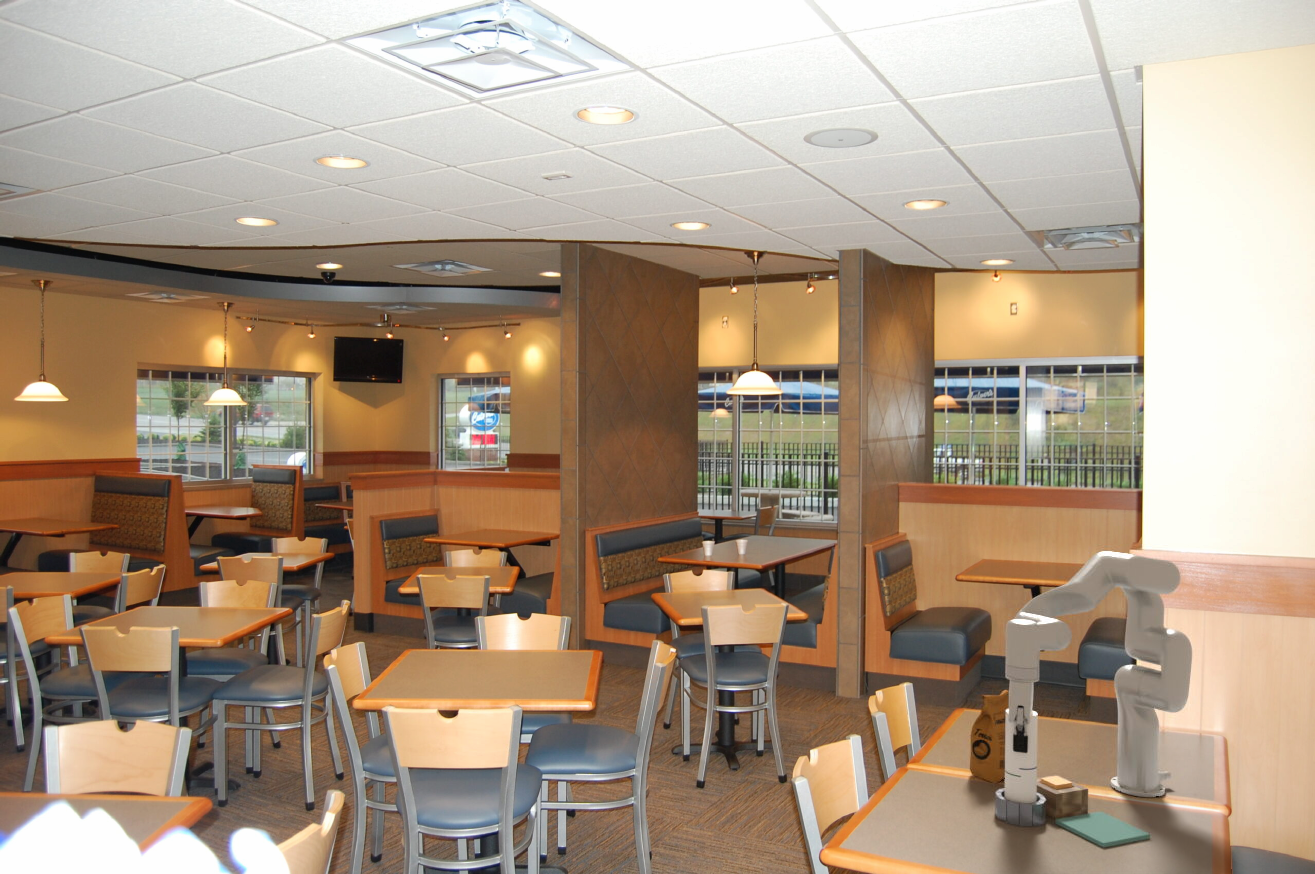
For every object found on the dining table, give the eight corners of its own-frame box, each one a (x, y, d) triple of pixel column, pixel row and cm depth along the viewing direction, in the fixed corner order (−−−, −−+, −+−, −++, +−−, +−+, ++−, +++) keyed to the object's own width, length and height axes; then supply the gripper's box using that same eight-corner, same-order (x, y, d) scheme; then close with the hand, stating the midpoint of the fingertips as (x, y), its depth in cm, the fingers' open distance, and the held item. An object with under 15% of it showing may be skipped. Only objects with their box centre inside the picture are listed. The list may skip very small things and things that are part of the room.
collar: (1021, 805, 239) (1022, 785, 239) (1055, 822, 229) (1055, 801, 229) (985, 811, 235) (986, 790, 235) (1018, 829, 225) (1018, 807, 225)
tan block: (1056, 797, 240) (1056, 775, 240) (1072, 805, 236) (1072, 782, 236) (1040, 800, 239) (1040, 778, 239) (1056, 807, 234) (1056, 785, 234)
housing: (1056, 798, 244) (1056, 774, 244) (1087, 813, 234) (1088, 788, 234) (1025, 804, 240) (1025, 779, 240) (1055, 819, 231) (1056, 793, 231)
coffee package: (963, 773, 261) (964, 691, 261) (993, 765, 268) (995, 685, 268) (994, 785, 253) (995, 700, 253) (1024, 776, 259) (1026, 694, 259)
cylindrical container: (1038, 824, 228) (1040, 717, 227) (1006, 821, 229) (1008, 715, 229) (1033, 812, 235) (1034, 708, 234) (1002, 809, 236) (1003, 706, 236)
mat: (1100, 815, 233) (1100, 811, 233) (1150, 838, 220) (1150, 833, 220) (1055, 823, 228) (1055, 819, 228) (1103, 847, 215) (1103, 842, 215)
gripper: (1007, 662, 241) (1006, 734, 241) (1003, 679, 225) (1002, 755, 225) (1040, 666, 238) (1039, 738, 238) (1037, 682, 222) (1036, 760, 222)
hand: (1021, 746), depth 232 cm, fingers closed on cylindrical container, 7 cm apart
